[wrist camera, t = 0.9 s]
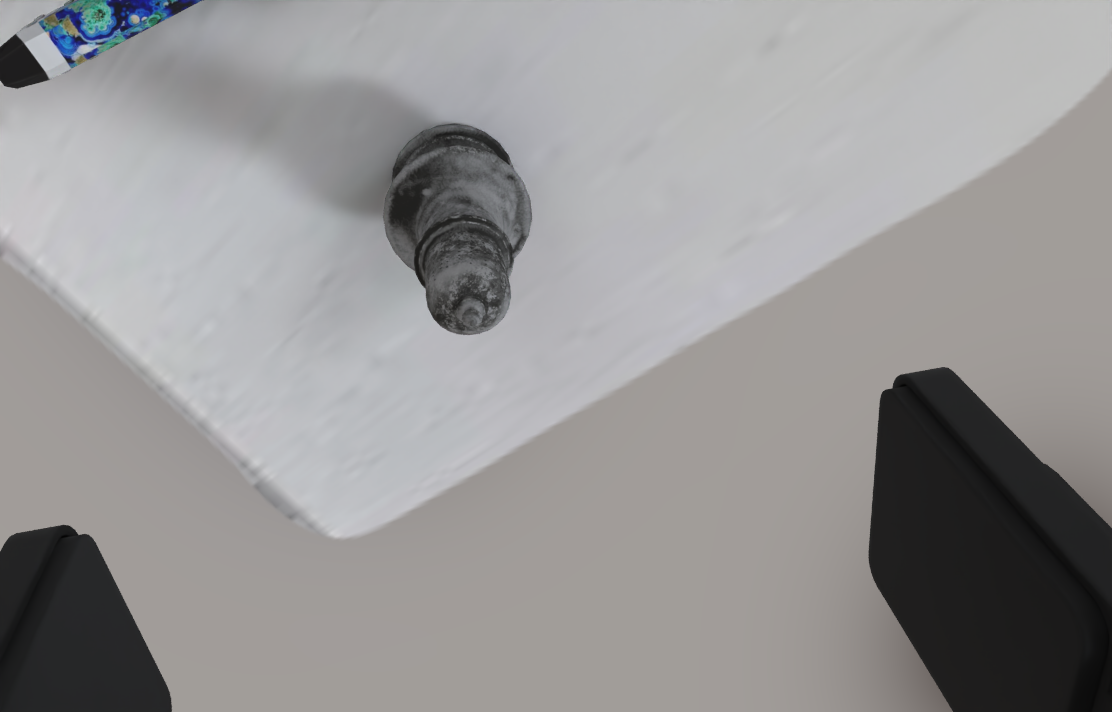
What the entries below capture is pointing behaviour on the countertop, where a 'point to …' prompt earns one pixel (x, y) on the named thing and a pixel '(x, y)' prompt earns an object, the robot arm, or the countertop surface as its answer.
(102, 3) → the knife
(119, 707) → the robot arm
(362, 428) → the countertop surface
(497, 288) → the salt shaker
